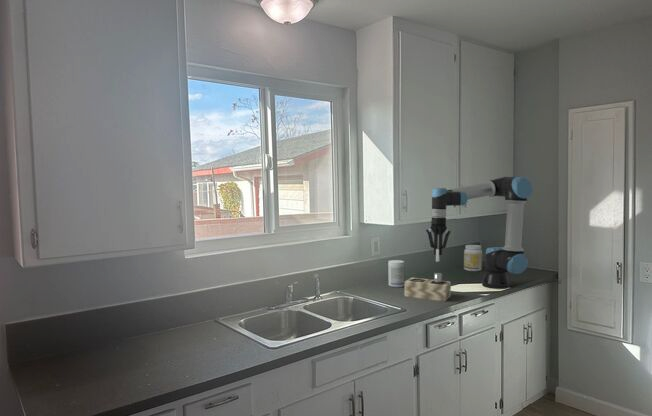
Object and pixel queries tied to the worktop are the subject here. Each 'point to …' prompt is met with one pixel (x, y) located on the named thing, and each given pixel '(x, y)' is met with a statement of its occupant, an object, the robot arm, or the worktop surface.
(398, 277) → the supplement tub
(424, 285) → the block
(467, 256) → the supplement tub
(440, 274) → the inner peg
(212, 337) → the worktop surface
